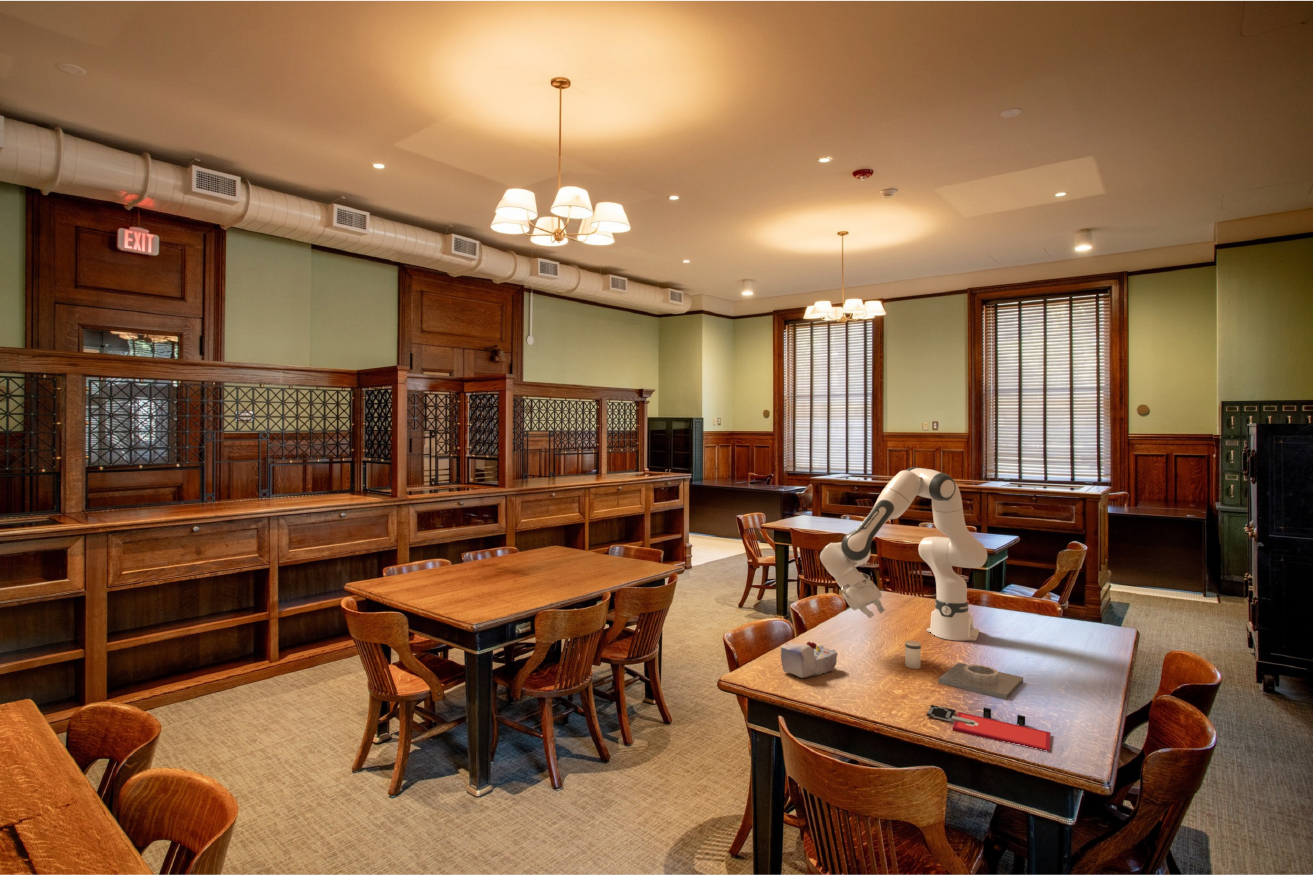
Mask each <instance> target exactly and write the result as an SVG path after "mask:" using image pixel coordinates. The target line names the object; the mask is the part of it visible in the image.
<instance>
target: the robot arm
mask: <svg viewBox="0 0 1313 875" xmlns="http://www.w3.org/2000/svg"><path fill="white" fill-rule="evenodd" d="M917 496H919V497H921V498H927V499H931V508H932V509H931V510H932V517H933V524H934V526H935V529H937V531H939V532H940V533H942V534H944V535H945V537H944V536H926V537H924V538H922V539H921V540H920V541H919V543H918V549H917V550H918V555H919V557H920V558H921V559H922V560H923V561H924V562H925V563H926V564H927V565H928V567H929V568H930V570H931V571H932V574H933V576H934V578H935V585H936V586H935V589H936V598H935V601H934V608H935V609H934V610H932V611H931V613H930V614H931V616H930V627H927V628H926V631H927V632H929V633H930V632H931V635H933V636H934V635H935V637H937V638H940V639H945V640H948V641H949V640H950V641H960V642H961V641H977V639H978V638H979V637H978V636H979V634H980V629H979V628H976V627H974V617H973V615H972V614H971V613H970V612H969V605H970V600H969V599H967V598H968V596H967V595H968V593H967V592H968V591H967V590H968V589H967V588H968V587H967V586H968V585H967V582H966V581H965V579H964V578H963V577H962V576H961V575H959V574H957V573H956V572H955V571H954V569H953V567H958V568H965V569H966V568H967V569H972V568H973V569H976V568H977V569H978V568H982V567H983V566H984V565H985V564H986V562H987V560H988V551H987V548H986V546H985V545H984V544H983V543H982V542H980V541H979V540H977V538H975V537H974V536H973V535H972V534H971V532H970V531H969V528H968V527H967V524H966V521H965V520H966V519H965V515H964V508H963V507H964V506H963V499H962V494H961V491H960V487H959V485H958V484H957V482H955V480H954V478H953V477H952V476H950V475H949V474H947V473H945V472H941V471H937V470H935V469H929V468H923V467H922V468H921V467H920V466H911V467H908V468H907V469H904V470H900V471H899V472H898V473H896V475H894V476H893V477H892V478H891V479H890V480H889V482H888V483H887V484H886V485H885V487H884V488H883V489H882V491H881V493H880V494H879V495H878V497H877V499H876V502H875V503H874V505H873V507H872V509H871V510H870V512H869V514H868V515H867V516H866V517H865V518H864V520H863V521H862V522H861V524H859V526H858V527H857V528H856V529H853V530H852V531H851V532H848V533H847V534H846V535H845V536H844V537H843V538H842V541H840V542H829V543H828V544H827V545H825V546H824V547H823V548H822V549H821V551H820V554H819V560H820V562H821V563H822V565H823V567H824V568H825V569H826V571H827V572H828V573H829V574H830V576H832V577H833V578H834V580H835V582H836V583H837V585H838V586H839V587H840V589H841V593H842V596H843V598H844V601H845V602H846V603H847V604H848V606H849V607H850V608H851V609H852V610H853V611H857V610H860V612H862V614H863V613H864V614H865V615H866V616H867V618H868V619H872V618H873V617H875V613H874V612H873V611H872V610H870V609H868V607H867V606H869V605H872V604H874V606H876V610H877V611H878V612H879V614H883V613H884V612H886V609H885V607H884V606H883V604H882V602H881V599H882V597H883V594H882V592H881V590H880V589H879V588H878V586H877V585H876V584H875V583H874V582H873V581H872V580H871V576H870V575H868V574H866V573H863V572H861V571H859V570H858V569H857V568H858V567H860V566H862V565H864V564H866V563H867V562H868V561H869V560H870V558H871V547H872V542H873V539H874V538H875V536H876V535H877V534H878V533H879V532H880V531H881V528H882V527H883V526H884V525H885V524H886V522H888V521H890V520H895V519H899V517H901V516H902V515H903V514H904V513H905V512H906V511H907V510H908V509H909V507H910V506H911V505H912V503H913V501H914V500H915V498H916V497H917Z"/></svg>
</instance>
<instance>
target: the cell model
mask: <svg viewBox="0 0 1313 875" xmlns="http://www.w3.org/2000/svg"><path fill="white" fill-rule="evenodd" d="M837 657H838V652H837V651H836V649H830V648H828V647H824V646H823V645H819V646H818V645H817V643H815V642H811V641H808V642H806V643H797V642H791V641H787V642H786V643H784V644H782V646H781V647H780V662H781V666H782V670H783V671H784V673H788V674H791V675H794V676H797V677H798V678H801V679H805V678H809V677H812V676H813V675H814V676H813V677H815V676H821V674H822V675H825V674H827V673H829V672H832V671H834V669H835V667H836V665H837V662H838V660H837ZM823 673H824V674H823Z"/></svg>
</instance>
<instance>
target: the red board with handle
mask: <svg viewBox="0 0 1313 875" xmlns="http://www.w3.org/2000/svg"><path fill="white" fill-rule="evenodd" d="M982 711H983V714H982V716H979V715H975V714H970V713H966V712H961V711H958V713H957V715H956V716H955V712H956V709H952V708H948V707H944V706H943V707H942V706H938V705H934V704H931V705H930V707H929V709H928V711H927V713H926V717H931V718H935V719H939V720H944V721H947V722H951V724H953V725H952V731H954V732H958V733H961V732H962V734H966V733H967V734H968V735H970V734H971V736H975V735H976V737H979V736H980V738H984V737H985V738H984V739H988V738H989V739H988V740H992V739H994V740H993V741H997V740H998V742H1001V741H1005V742H1004V743H1006V742H1010V743H1015V744H1020V745H1025V746H1028V747H1033V748H1037V749H1042V750H1047V751H1050V752H1051V732H1049V731H1045V730H1041V729H1038V728H1037V729H1036V728H1032V727H1028V726H1026V715H1021V714H1016V715H1017V716H1016V718H1017V719H1016V722H1017V724H1014V723H1009V722H1005V721H1001V720H997V719H992V708H988V707H983V710H982ZM989 718H990V719H989ZM1018 724H1019V725H1018ZM1023 725H1025V726H1023ZM1010 743H1009V744H1010ZM1028 747H1027V748H1028ZM1037 749H1036V750H1037Z"/></svg>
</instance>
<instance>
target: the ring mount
mask: <svg viewBox="0 0 1313 875" xmlns="http://www.w3.org/2000/svg"><path fill="white" fill-rule="evenodd" d="M1023 683H1024V676H1019V675H1015V674H1010V673H1005V672H1001V671H998V670H997V669H995V668H993V667H991V666H987V665H983V664H982V665H981V664H966V663H962V662H958V663H956V664H955V665H954V666H952V667H950V669H949V670H947V671H946V672H945V673H943V674H942V675H941V676H939V677H938V684H942V685H945V686H951V687H954V688H958V689H962V690H966V691H970V692H972V693H973V692H974V693H978V694H980V695H985V696H989V697H992V698H993V697H995V698H997V699H1000V700H1001V699H1002V700H1006V701H1007V700H1008V699H1009V698H1010V697H1011V696H1012V695H1013V694H1014V693H1015V692H1016V690H1018V688H1019V687H1020V686H1021V685H1023Z"/></svg>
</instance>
